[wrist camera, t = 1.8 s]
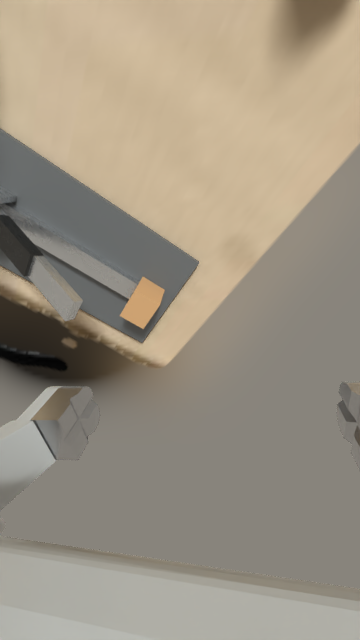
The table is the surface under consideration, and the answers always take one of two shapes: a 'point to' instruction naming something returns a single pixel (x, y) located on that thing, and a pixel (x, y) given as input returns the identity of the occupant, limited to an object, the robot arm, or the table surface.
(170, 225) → the table surface
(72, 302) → the tongs arm
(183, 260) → the mat
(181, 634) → the robot arm
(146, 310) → the light orange block
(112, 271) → the grey long bar
